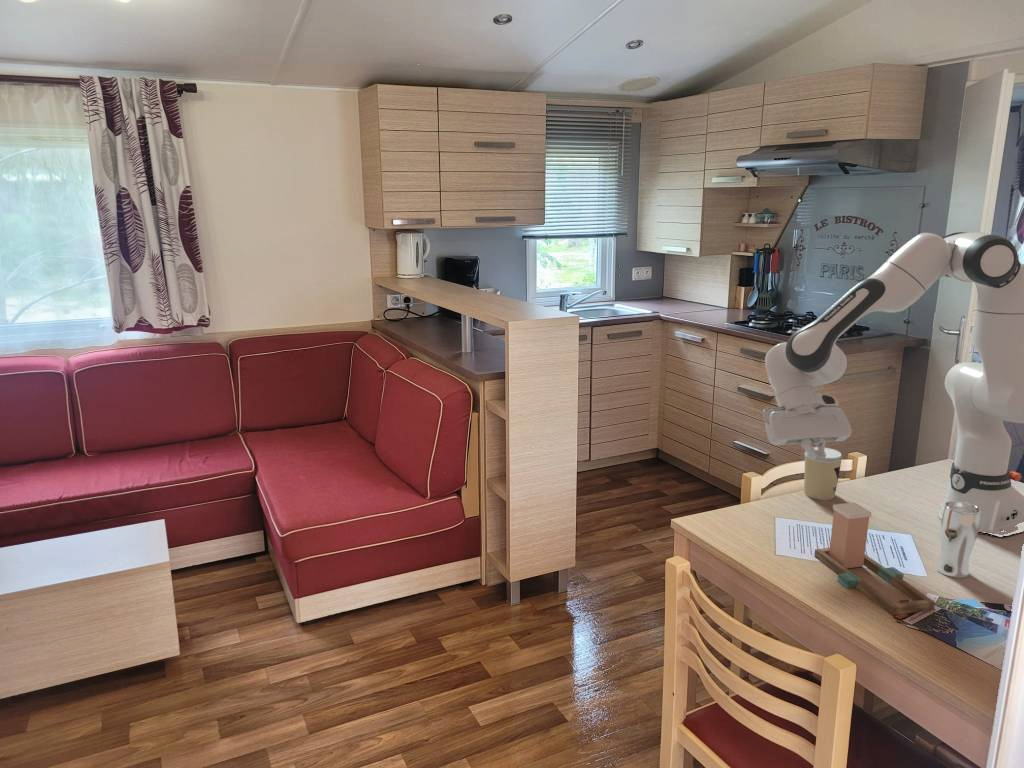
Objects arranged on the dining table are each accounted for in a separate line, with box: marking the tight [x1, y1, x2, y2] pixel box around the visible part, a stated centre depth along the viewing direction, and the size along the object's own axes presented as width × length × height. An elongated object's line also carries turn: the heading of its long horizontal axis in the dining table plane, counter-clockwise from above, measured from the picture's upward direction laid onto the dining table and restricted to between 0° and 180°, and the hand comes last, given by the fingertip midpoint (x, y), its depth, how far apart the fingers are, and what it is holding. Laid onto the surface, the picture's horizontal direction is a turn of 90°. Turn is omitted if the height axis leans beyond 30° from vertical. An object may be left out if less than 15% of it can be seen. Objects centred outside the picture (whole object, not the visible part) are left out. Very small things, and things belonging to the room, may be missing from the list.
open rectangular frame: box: [813, 547, 936, 616], centre depth 157 cm, size 13×25×2 cm, turn 13°
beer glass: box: [935, 501, 981, 579], centre depth 159 cm, size 7×7×15 cm
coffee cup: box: [803, 446, 843, 501], centre depth 201 cm, size 9×9×12 cm
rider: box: [829, 502, 872, 569], centre depth 163 cm, size 5×5×13 cm
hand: (819, 458), depth 171 cm, fingers closed
